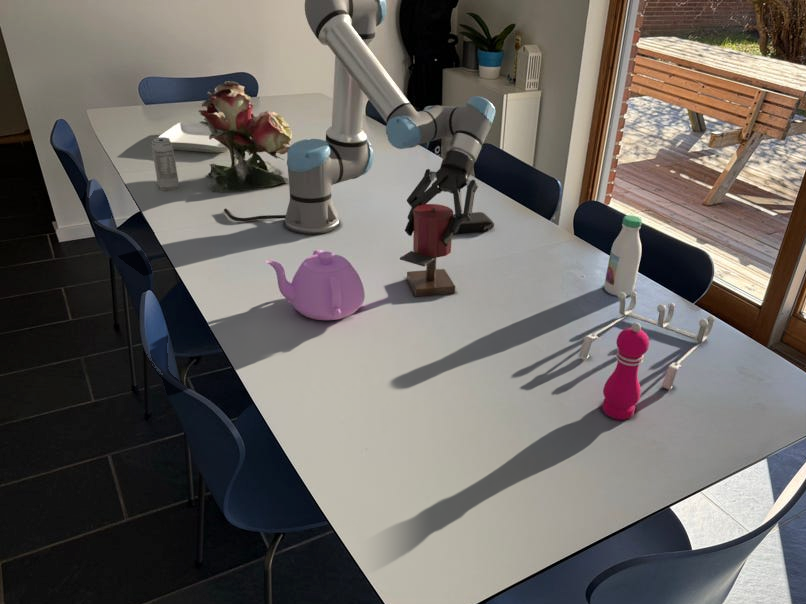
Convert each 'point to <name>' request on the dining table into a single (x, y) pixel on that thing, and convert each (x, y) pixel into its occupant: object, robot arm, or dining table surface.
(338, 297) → the teapot
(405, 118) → the robot arm
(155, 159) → the energy drink can
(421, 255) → the cap
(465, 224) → the carrying case
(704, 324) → the over door rack
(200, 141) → the square plate
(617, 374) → the pepper mill
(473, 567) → the dining table surface
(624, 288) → the milk bottle
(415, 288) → the hat stand
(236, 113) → the rose bouquet
